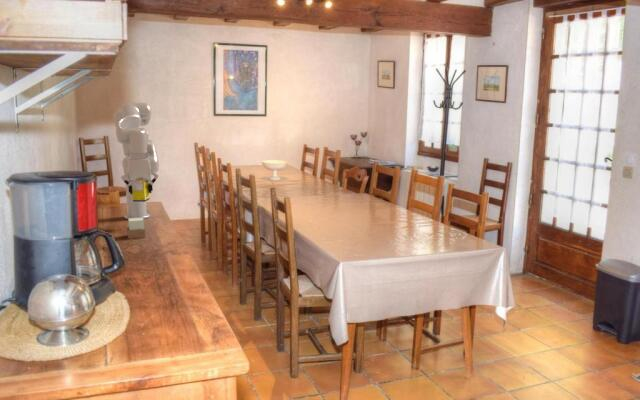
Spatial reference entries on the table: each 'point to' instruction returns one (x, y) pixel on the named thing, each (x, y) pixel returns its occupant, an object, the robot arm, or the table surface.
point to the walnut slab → (135, 233)
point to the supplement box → (140, 190)
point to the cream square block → (136, 223)
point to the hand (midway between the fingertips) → (140, 193)
